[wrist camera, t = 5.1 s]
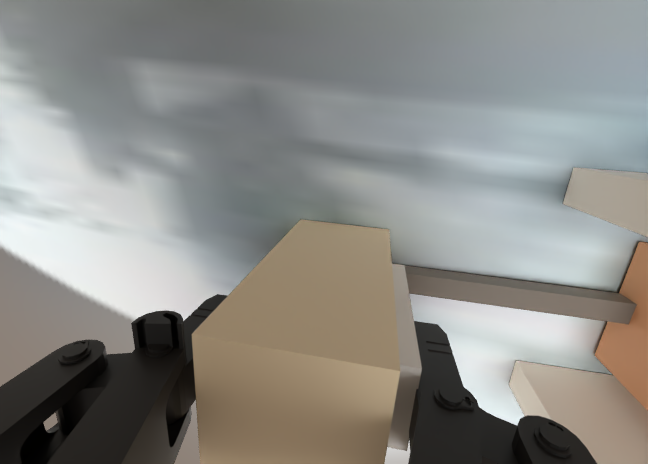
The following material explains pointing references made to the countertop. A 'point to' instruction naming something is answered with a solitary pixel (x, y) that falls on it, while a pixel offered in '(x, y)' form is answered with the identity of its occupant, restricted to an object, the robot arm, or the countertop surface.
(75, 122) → the countertop surface
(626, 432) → the shelf lanes
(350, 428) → the corded block
